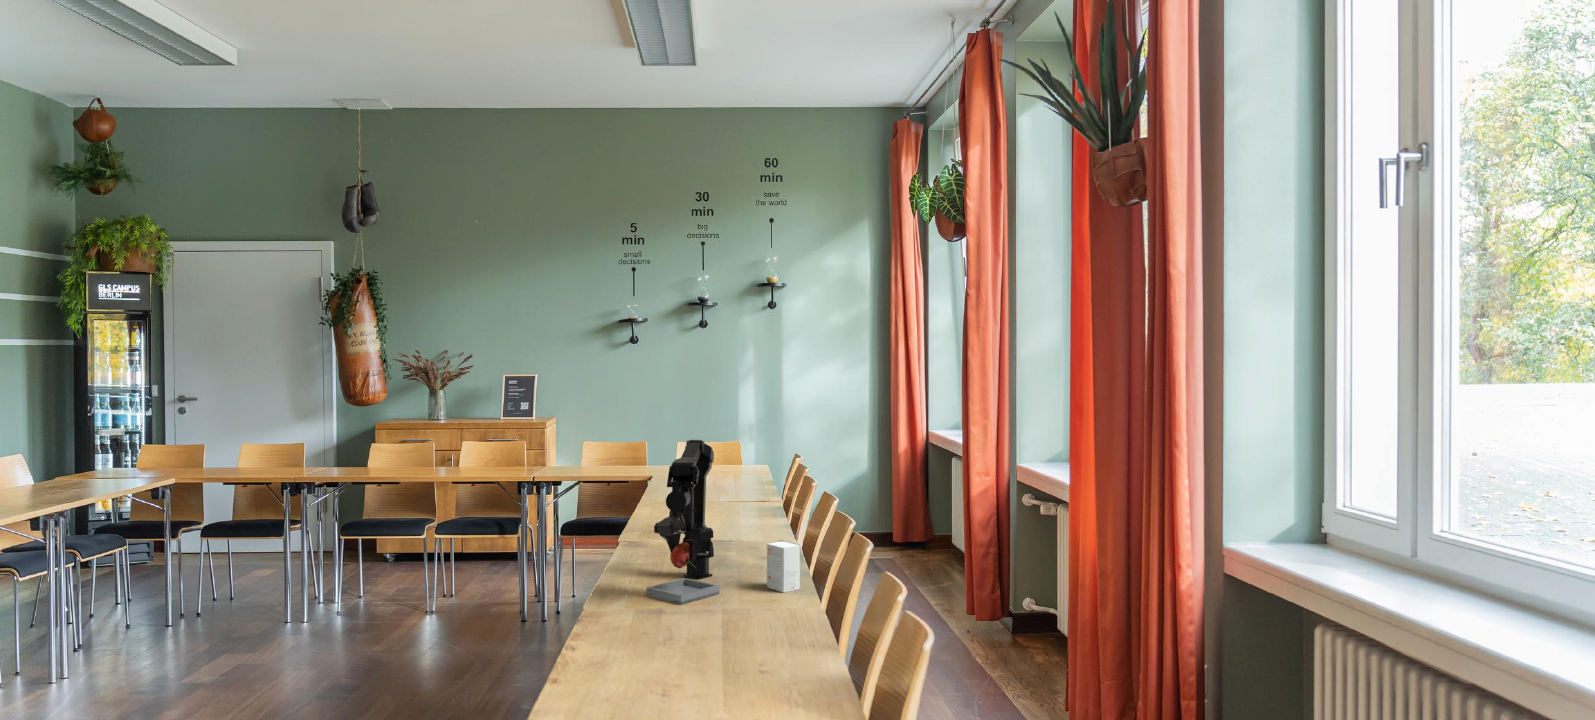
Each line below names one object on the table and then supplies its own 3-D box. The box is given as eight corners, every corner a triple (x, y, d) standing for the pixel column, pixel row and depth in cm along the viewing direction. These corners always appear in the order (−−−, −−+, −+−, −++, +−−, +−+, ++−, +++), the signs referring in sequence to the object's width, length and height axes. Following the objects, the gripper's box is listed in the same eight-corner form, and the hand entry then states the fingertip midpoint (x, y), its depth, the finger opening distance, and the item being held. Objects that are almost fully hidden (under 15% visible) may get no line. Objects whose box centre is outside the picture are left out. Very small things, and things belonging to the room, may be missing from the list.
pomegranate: (698, 572, 270) (675, 548, 273) (709, 555, 267) (686, 531, 270) (682, 581, 263) (658, 556, 267) (693, 563, 261) (670, 538, 264)
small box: (800, 589, 274) (800, 544, 274) (783, 593, 270) (783, 547, 270) (783, 584, 280) (783, 540, 280) (766, 587, 276) (766, 543, 276)
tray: (684, 586, 277) (684, 577, 277) (719, 593, 269) (719, 585, 269) (646, 596, 266) (646, 587, 266) (681, 604, 257) (681, 595, 257)
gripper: (639, 505, 267) (639, 560, 267) (686, 513, 255) (686, 570, 255) (668, 501, 275) (668, 554, 275) (714, 507, 264) (714, 563, 264)
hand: (683, 560), depth 267 cm, fingers closed on pomegranate, 7 cm apart
